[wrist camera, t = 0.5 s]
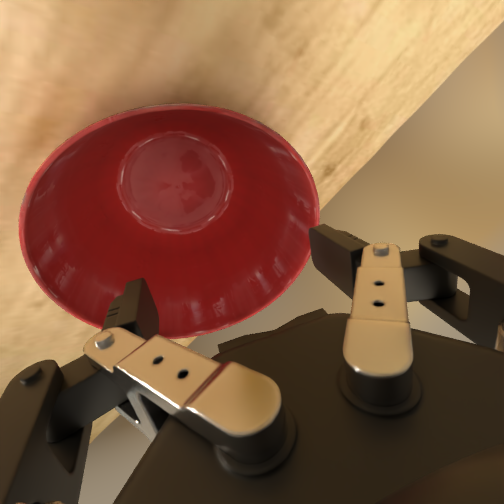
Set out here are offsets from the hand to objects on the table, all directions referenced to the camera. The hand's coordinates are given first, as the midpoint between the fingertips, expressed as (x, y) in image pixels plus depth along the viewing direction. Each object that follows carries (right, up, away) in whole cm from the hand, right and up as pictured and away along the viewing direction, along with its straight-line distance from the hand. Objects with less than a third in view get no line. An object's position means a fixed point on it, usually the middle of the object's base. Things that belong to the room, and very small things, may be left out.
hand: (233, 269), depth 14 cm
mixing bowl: (-10, +10, +28) cm, 31 cm away
